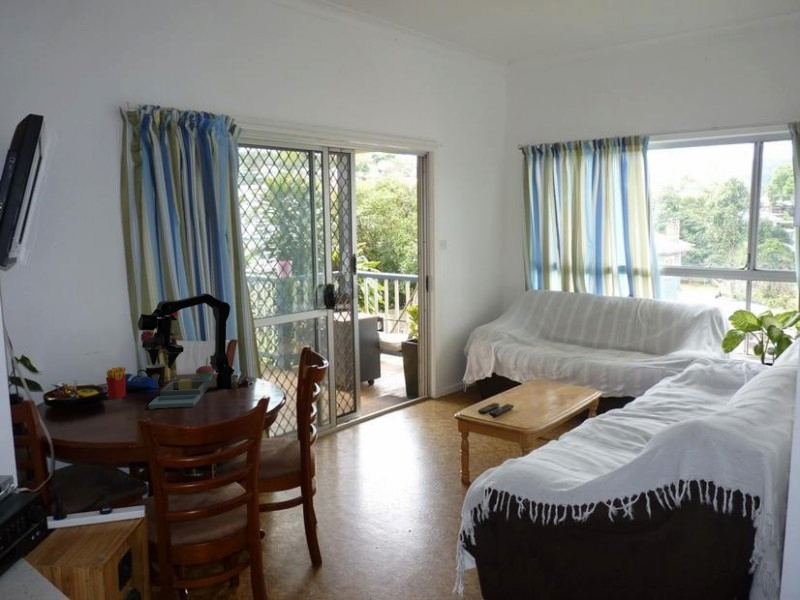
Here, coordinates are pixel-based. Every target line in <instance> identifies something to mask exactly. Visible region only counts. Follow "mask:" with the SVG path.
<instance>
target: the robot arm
mask: <svg viewBox="0 0 800 600" xmlns="http://www.w3.org/2000/svg"><path fill="white" fill-rule="evenodd" d="M203 304H206V305H207V306H208V307H210V308H211V309H212V315H213V317H214V319H215V335H214V336H215V337H214V339H215V340H214V342H215V343H214V346H215V347H214V353H213V355H210V356H209V358H210V361H209V365H210V367H212V368H213V369H214V370H215V371H214V372H215V373H216V375H217V376H216V378H215V381H216V382H215V383H216V388H217V389H232V388H233V386H232V383H233V384H234V382H233V375H234V374H235V369H234V368H233V367H231V366H230V363H229V357H228V355H227V351H226V350H227V347H226V345H227V344H226V343H227V341H226V340H227V321H228V319H229V316H230V313H231V306H230V304H229V302H227V301H221V300H220V299H218V298H216V297H214V296H213V295H211V294H209V293H206V292H205V293H202V294H198V295H194V296H190V297H187V298H182V299H176V300H175V299H174V300H160V301H159V302H158V303H157V306H156V308H155V309H154V310H153V311H152V313H151V314H145V313H140V316H139V319H138V321H137V328H138V330H139V331H155V329H156V332H154V333H153V336H152V337H149V338H147V339H145V340H144V341H143V342H142V343H141V344H142V347H141V348H143V350H144V351H146V352H147V353H148V355H149V358H150V361H151V365H155V364H157V359H158V357H159V356H158V355H159V352H160V349H163V350H166V351H167V352H166V355H167V357H168V358H167V368H168V369H171V368H172V366H173V365H174V363H175V361H176V360H177V357H179V355H181V354H182V353H184V349H185V348H184V346H183V345H181V344H173V342H171V336H174V333H173V332H172V323H173V321H178V319H177V318H176V317H175V315H174V314H175V313H177V312H179V311H181V310H183V309H187V308H192V307H195V306H198V305H199V306H200V305H203ZM231 387H232V388H231Z"/></svg>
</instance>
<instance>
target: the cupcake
mask: <svg viewBox="0 0 800 600" xmlns="http://www.w3.org/2000/svg"><path fill="white" fill-rule="evenodd" d="M208 357H209V356H208V355H207V357H206V362H205V365H202V366H199V367H198V368H197V369H196V370H195V374H196V375H198V377H199V379H200V380H209V382H211V380H212V378H213V375H214V373H215V372H216V371H215V370H214V369H213V368H212V367H211V365H208V363H209V358H208Z"/></svg>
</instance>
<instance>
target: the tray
mask: <svg viewBox="0 0 800 600" xmlns="http://www.w3.org/2000/svg"><path fill="white" fill-rule="evenodd" d="M200 400H201V397H200V395H179V396H160V395H159V396H156V397H155V398H153V400H152V401H151V402H150V403H149V404H148V410H156V409H155V408H165V409H168V408H167V407H186V408H193V407H192V406H194V405H195V404H196V403H197V402H199V401H200ZM197 404H198V403H197ZM197 404H196V405H197ZM196 405H195V406H196ZM195 406H194V407H195Z"/></svg>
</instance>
